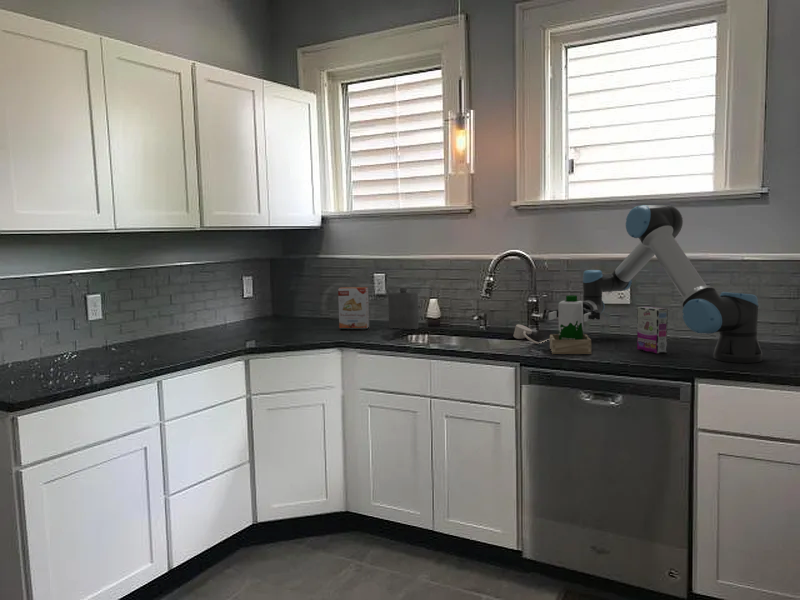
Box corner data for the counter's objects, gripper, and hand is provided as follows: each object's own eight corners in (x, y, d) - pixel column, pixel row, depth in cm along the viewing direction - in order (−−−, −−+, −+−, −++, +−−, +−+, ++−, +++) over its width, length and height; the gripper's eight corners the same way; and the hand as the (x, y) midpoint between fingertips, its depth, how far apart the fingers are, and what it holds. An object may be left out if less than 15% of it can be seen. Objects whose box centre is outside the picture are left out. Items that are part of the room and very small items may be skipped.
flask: (420, 327, 331) (419, 287, 329) (416, 329, 326) (415, 288, 323) (392, 327, 336) (390, 287, 334) (387, 329, 331) (386, 288, 329)
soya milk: (585, 347, 260) (584, 295, 257) (580, 351, 252) (579, 298, 249) (562, 346, 264) (561, 295, 261) (556, 350, 255) (556, 297, 253)
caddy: (591, 354, 250) (591, 340, 249) (552, 354, 252) (552, 340, 251) (586, 348, 264) (586, 334, 263) (549, 348, 266) (549, 334, 265)
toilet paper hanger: (539, 342, 276) (505, 327, 285) (535, 353, 277) (502, 338, 286) (559, 335, 292) (527, 321, 301) (556, 346, 294) (524, 331, 302)
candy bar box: (668, 352, 249) (668, 308, 247) (657, 354, 247) (657, 309, 246) (646, 348, 259) (647, 305, 258) (636, 349, 258) (636, 306, 256)
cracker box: (339, 330, 330) (337, 288, 328) (342, 328, 336) (340, 287, 334) (367, 330, 328) (365, 287, 326) (369, 328, 334) (368, 286, 332)
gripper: (616, 321, 265) (599, 329, 247) (555, 318, 278) (535, 325, 261) (616, 302, 264) (599, 308, 246) (555, 300, 278) (535, 306, 260)
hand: (566, 317), depth 254 cm, fingers open, 13 cm apart
